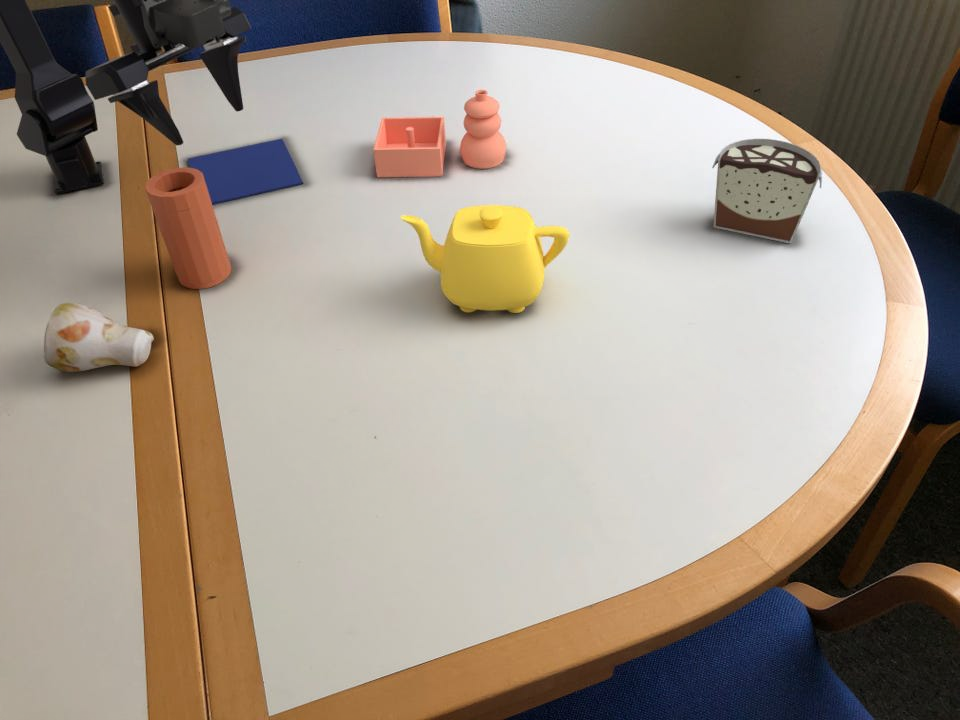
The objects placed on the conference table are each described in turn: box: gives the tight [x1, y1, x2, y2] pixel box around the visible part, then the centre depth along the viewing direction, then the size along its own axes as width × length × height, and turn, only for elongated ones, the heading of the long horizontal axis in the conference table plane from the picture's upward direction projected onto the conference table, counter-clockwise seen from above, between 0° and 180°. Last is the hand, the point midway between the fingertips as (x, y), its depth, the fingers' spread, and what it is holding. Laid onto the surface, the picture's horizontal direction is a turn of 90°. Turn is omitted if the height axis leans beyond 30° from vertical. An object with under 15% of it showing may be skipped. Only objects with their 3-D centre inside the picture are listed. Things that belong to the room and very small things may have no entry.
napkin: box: [187, 138, 304, 205], centre depth 113 cm, size 14×14×1 cm
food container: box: [711, 138, 823, 244], centre depth 96 cm, size 12×6×10 cm, turn 65°
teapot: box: [400, 204, 570, 314], centre depth 87 cm, size 18×11×11 cm, turn 86°
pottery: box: [373, 89, 507, 178], centre depth 110 cm, size 18×10×10 cm, turn 88°
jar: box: [144, 166, 232, 290], centre depth 91 cm, size 6×6×12 cm
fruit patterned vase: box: [43, 302, 155, 373], centre depth 82 cm, size 8×10×10 cm
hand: (211, 127), depth 89 cm, fingers open, 9 cm apart
